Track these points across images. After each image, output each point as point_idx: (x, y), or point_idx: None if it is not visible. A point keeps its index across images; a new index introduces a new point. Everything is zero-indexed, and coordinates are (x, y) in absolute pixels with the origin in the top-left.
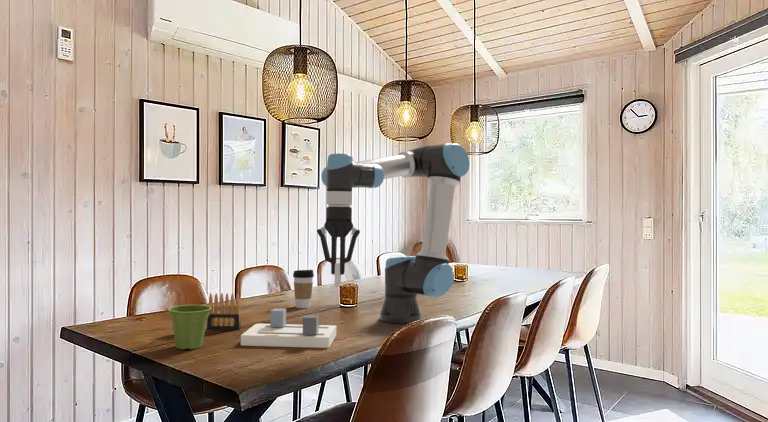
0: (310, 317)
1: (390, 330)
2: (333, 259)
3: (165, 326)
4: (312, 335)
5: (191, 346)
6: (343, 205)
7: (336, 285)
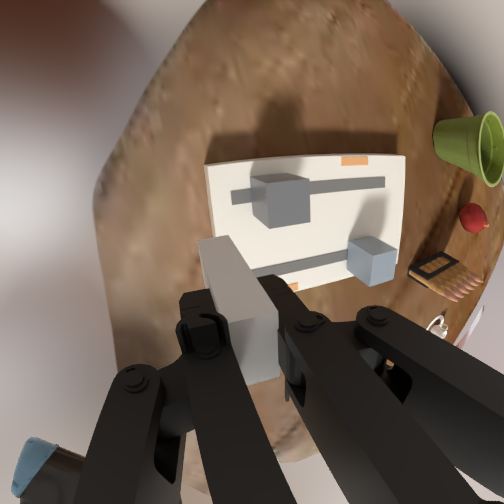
0: (287, 187)
1: (117, 364)
2: (316, 341)
3: (472, 251)
4: None
5: (440, 121)
6: None
7: (217, 237)
